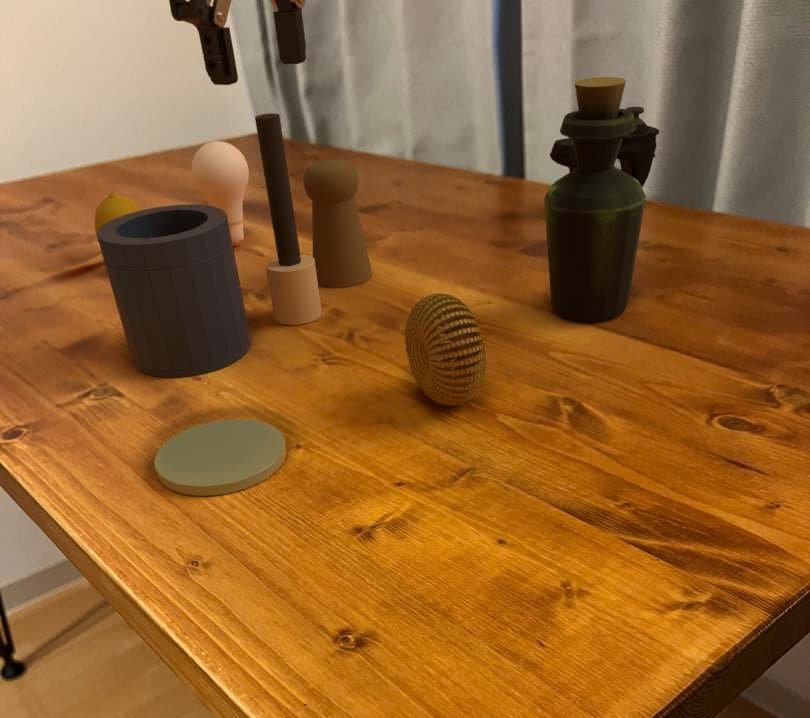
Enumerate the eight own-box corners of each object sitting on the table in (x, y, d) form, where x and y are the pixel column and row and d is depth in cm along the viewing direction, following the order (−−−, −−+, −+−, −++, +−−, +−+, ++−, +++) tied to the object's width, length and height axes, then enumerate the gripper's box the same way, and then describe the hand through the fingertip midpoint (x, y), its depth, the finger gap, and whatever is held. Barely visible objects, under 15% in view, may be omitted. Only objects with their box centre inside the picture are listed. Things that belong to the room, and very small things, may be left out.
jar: (108, 365, 75) (69, 236, 69) (189, 321, 82) (161, 200, 75) (195, 386, 70) (162, 250, 64) (274, 338, 77) (252, 210, 71)
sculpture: (496, 415, 63) (495, 308, 58) (446, 430, 62) (440, 322, 57) (447, 373, 69) (442, 273, 64) (400, 386, 68) (392, 285, 63)
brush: (302, 328, 78) (271, 123, 68) (265, 321, 80) (228, 120, 70) (331, 310, 81) (305, 111, 71) (294, 304, 83) (263, 109, 73)
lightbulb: (224, 258, 96) (203, 151, 89) (197, 247, 100) (175, 144, 93) (271, 243, 99) (254, 139, 92) (243, 233, 103) (225, 132, 96)
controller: (658, 203, 100) (667, 107, 94) (562, 222, 97) (564, 125, 91) (638, 194, 103) (645, 101, 97) (544, 212, 100) (545, 118, 94)
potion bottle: (651, 299, 78) (671, 72, 67) (613, 333, 72) (629, 94, 62) (567, 286, 82) (574, 70, 71) (526, 318, 76) (527, 90, 66)
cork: (383, 269, 89) (373, 155, 83) (351, 290, 85) (337, 171, 79) (334, 263, 92) (320, 152, 85) (301, 283, 88) (283, 168, 81)
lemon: (140, 278, 93) (120, 200, 88) (97, 276, 94) (74, 199, 90) (168, 260, 97) (149, 185, 92) (125, 258, 99) (105, 184, 94)
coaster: (129, 477, 60) (126, 467, 59) (217, 418, 66) (215, 409, 65) (228, 509, 56) (225, 499, 55) (312, 443, 62) (310, 433, 61)
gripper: (243, -186, 66) (279, 57, 75) (101, -187, 57) (162, 90, 66) (323, -199, 62) (350, 57, 72) (186, -203, 53) (237, 92, 63)
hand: (260, 73), depth 69 cm, fingers open, 8 cm apart
